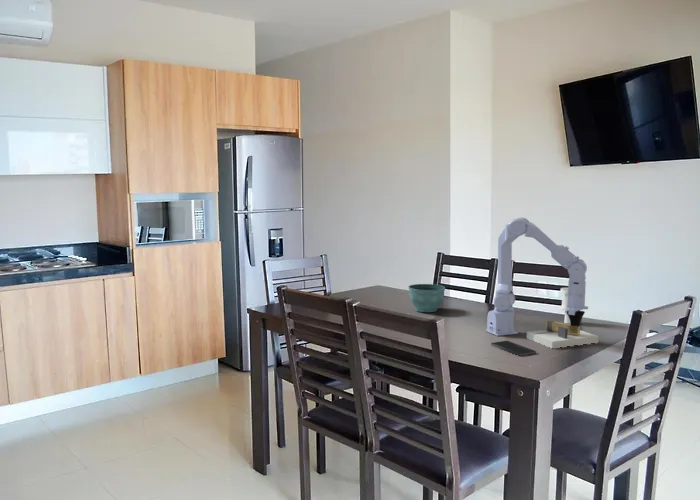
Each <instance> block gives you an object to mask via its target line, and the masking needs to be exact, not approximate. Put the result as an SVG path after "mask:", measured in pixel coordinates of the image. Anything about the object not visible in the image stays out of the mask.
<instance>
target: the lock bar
mask: <svg viewBox="0 0 700 500" xmlns="http://www.w3.org/2000/svg"><path fill="white" fill-rule="evenodd" d="M559 326H561V327H564V328H567V329H568V334H573V335H580V330H581V326H577V325H572V324H568V323H564V322H559V321H554V320H550V319H549V320H546V321H545V330H548V331H557V332H558V327H559Z"/></svg>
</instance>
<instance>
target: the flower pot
mask: <svg viewBox="0 0 700 500" xmlns="http://www.w3.org/2000/svg"><path fill="white" fill-rule="evenodd" d="M445 291H446V287H445V286H443V285H440V284H433V283H415V284H411V285H408V294H409V298H410V302H411V303H412V305H413V306H414V308H415V311H417V312H419V313H435V312H437V311H438V308H439V307H440V305H441V304H442V302H443V300H444V297H445Z"/></svg>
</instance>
